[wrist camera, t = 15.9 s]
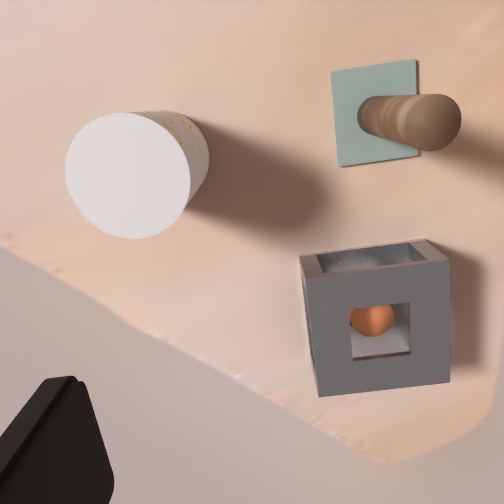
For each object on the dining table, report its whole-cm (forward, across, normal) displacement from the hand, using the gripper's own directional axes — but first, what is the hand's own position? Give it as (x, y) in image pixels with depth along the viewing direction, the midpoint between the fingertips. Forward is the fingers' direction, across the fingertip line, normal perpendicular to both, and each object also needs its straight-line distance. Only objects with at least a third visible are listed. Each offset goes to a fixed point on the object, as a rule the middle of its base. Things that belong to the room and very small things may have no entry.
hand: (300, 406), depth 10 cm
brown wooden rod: (+32, -10, -4) cm, 34 cm away
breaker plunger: (+31, -8, +14) cm, 35 cm away
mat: (+32, -10, -4) cm, 34 cm away
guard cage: (+32, -8, +14) cm, 36 cm away
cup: (+32, +9, -3) cm, 34 cm away
